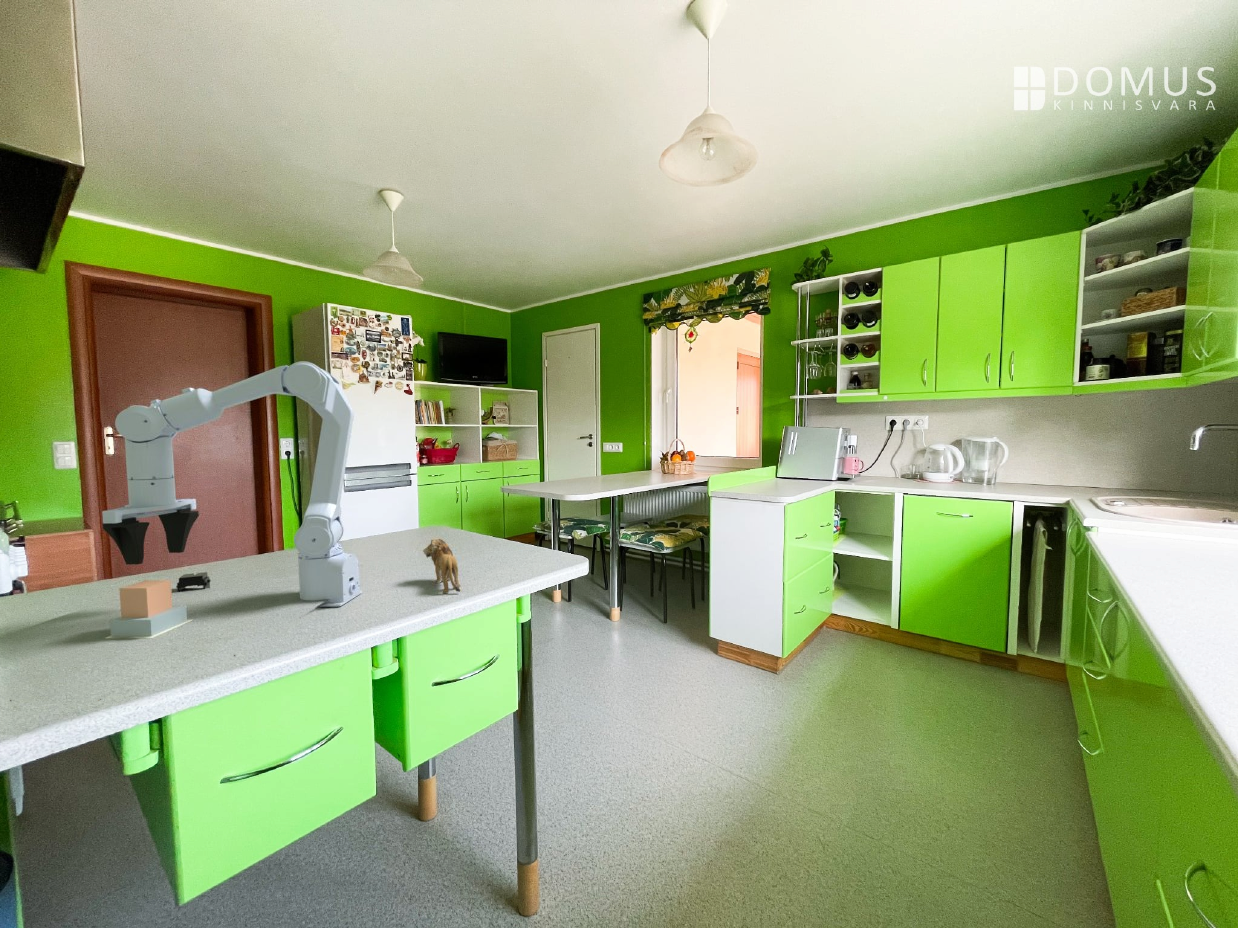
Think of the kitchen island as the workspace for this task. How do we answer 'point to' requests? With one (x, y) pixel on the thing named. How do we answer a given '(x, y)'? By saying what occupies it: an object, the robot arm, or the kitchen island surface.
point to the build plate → (193, 581)
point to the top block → (145, 598)
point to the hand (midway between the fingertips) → (156, 557)
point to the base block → (148, 623)
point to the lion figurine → (443, 563)
